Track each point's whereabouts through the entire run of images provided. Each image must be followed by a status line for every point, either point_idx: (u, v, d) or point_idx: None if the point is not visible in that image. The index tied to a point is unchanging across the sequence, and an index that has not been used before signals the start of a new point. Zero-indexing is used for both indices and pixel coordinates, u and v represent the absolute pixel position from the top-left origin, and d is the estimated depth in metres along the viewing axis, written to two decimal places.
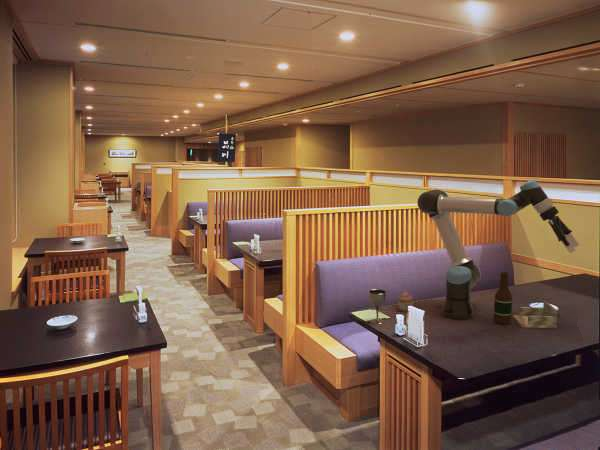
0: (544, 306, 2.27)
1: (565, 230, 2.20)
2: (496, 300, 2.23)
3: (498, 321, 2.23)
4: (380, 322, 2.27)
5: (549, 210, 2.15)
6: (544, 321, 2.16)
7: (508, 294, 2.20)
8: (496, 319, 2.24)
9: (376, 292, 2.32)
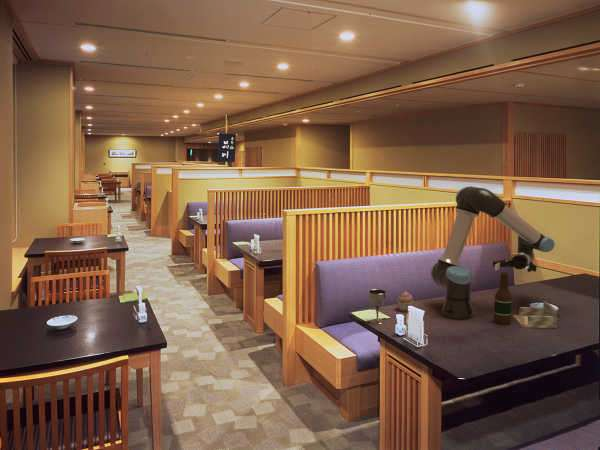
0: (544, 306, 2.27)
1: (502, 265, 2.40)
2: (496, 300, 2.23)
3: (498, 321, 2.23)
4: (380, 322, 2.27)
5: None
6: (544, 321, 2.16)
7: (508, 294, 2.20)
8: (496, 319, 2.24)
9: (376, 292, 2.32)
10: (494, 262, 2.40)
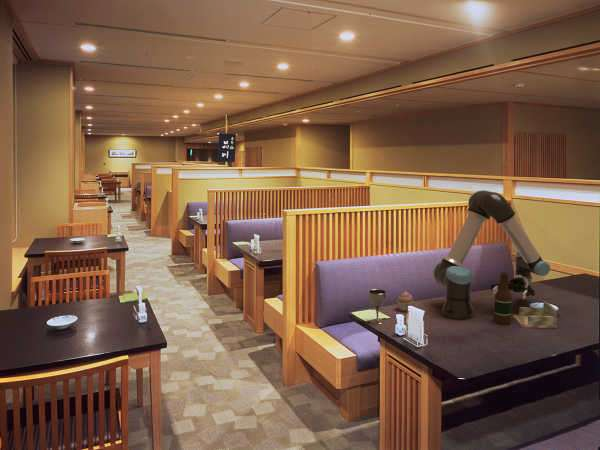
0: (544, 306, 2.27)
1: None
2: (496, 300, 2.23)
3: (498, 321, 2.23)
4: (380, 322, 2.27)
5: None
6: (544, 321, 2.16)
7: (508, 294, 2.20)
8: (496, 319, 2.24)
9: (376, 292, 2.32)
10: (492, 285, 2.38)
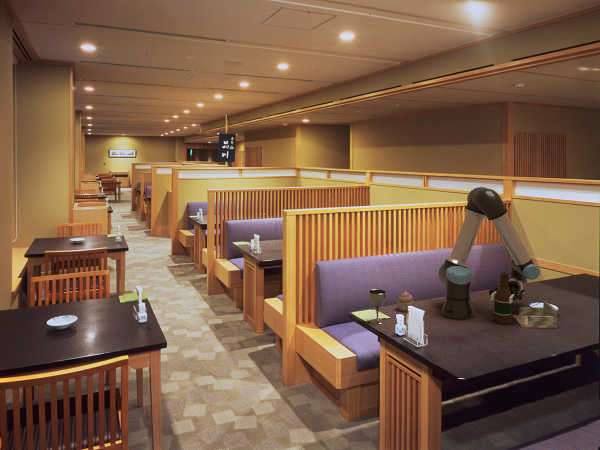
0: (544, 306, 2.27)
1: None
2: (496, 300, 2.23)
3: (498, 321, 2.23)
4: (380, 322, 2.27)
5: None
6: (544, 321, 2.16)
7: (508, 294, 2.20)
8: (496, 319, 2.24)
9: (376, 292, 2.32)
10: (491, 291, 2.29)
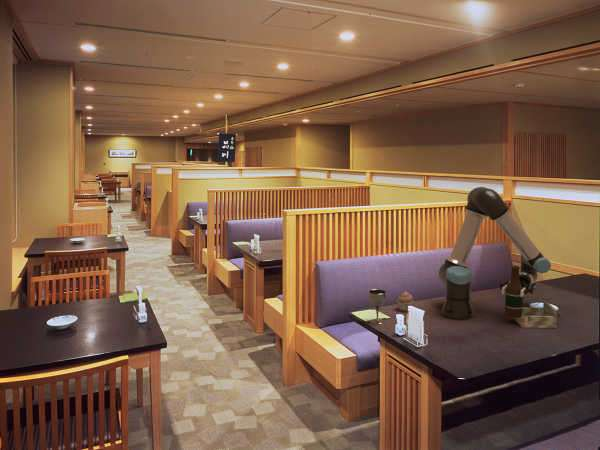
0: (544, 306, 2.27)
1: None
2: (507, 294, 2.22)
3: (509, 315, 2.22)
4: (380, 322, 2.27)
5: None
6: (544, 321, 2.16)
7: (519, 287, 2.19)
8: (507, 313, 2.23)
9: (376, 292, 2.32)
10: (501, 284, 2.28)
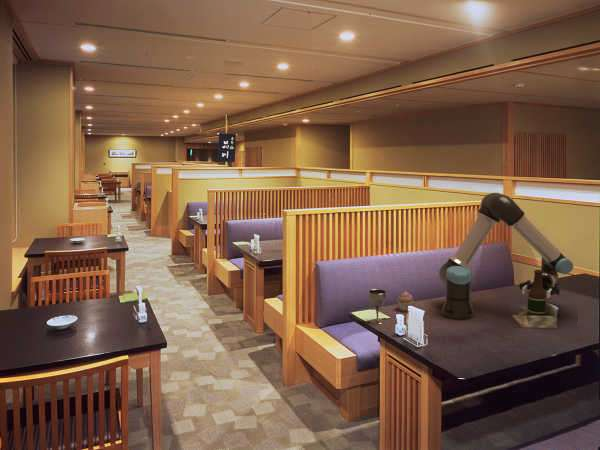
0: None
1: (529, 287, 2.27)
2: (530, 298, 2.21)
3: None
4: (380, 322, 2.27)
5: None
6: (544, 321, 2.16)
7: (542, 292, 2.18)
8: None
9: (376, 292, 2.32)
10: (521, 284, 2.28)
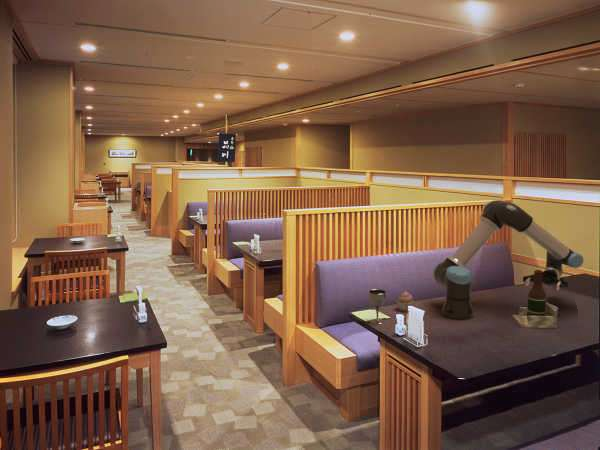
0: None
1: (532, 280, 2.39)
2: (530, 298, 2.21)
3: None
4: (380, 322, 2.27)
5: None
6: (544, 321, 2.16)
7: (542, 292, 2.18)
8: None
9: (376, 292, 2.32)
10: (524, 277, 2.40)
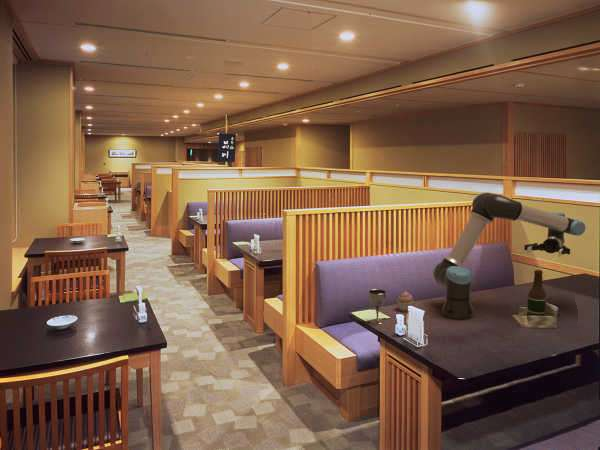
0: None
1: (534, 248, 2.36)
2: (530, 298, 2.21)
3: None
4: (380, 322, 2.27)
5: None
6: (544, 321, 2.16)
7: (542, 292, 2.18)
8: None
9: (376, 292, 2.32)
10: (526, 245, 2.37)
